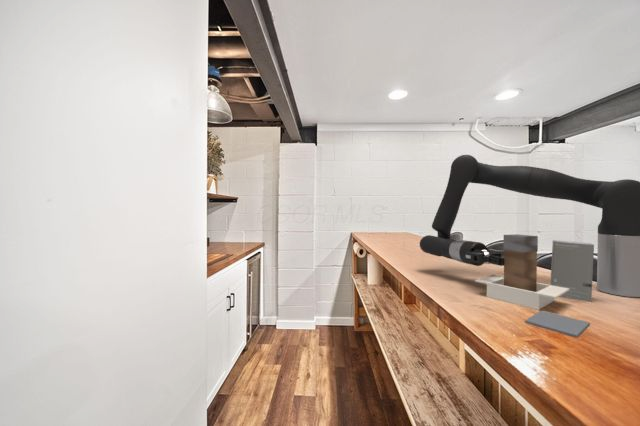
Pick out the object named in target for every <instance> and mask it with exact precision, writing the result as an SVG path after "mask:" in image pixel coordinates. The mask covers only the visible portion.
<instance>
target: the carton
mask: <svg viewBox="0 0 640 426" xmlns="http://www.w3.org/2000/svg"><path fill="white" fill-rule="evenodd" d="M474 282H475V283H481V284H485V285H486V298H489V299H493V300H497V301H501V302H506V303H509V304H513V305H518V306H521V307H526V308H529V309H533V310H537V311H538V310H540V311H541V309H543V308H544V307H546V306H548V305H550V304H551V303H553V302H554V301H555V299H557V298H560V297H559V296H561V295H562V294H564V293H566V292H567V291H569V290H570V289H569V288H563V287H558V286H552V285H550V284H546V283H542V282H541V283H540V282H537V292H533V291H528V290H523V289H518V288H513V287H509V286H504V275H503V276H501V275H497V274H492V275H488V276H485V277H482V278H478V279H475V280H474Z"/></svg>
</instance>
